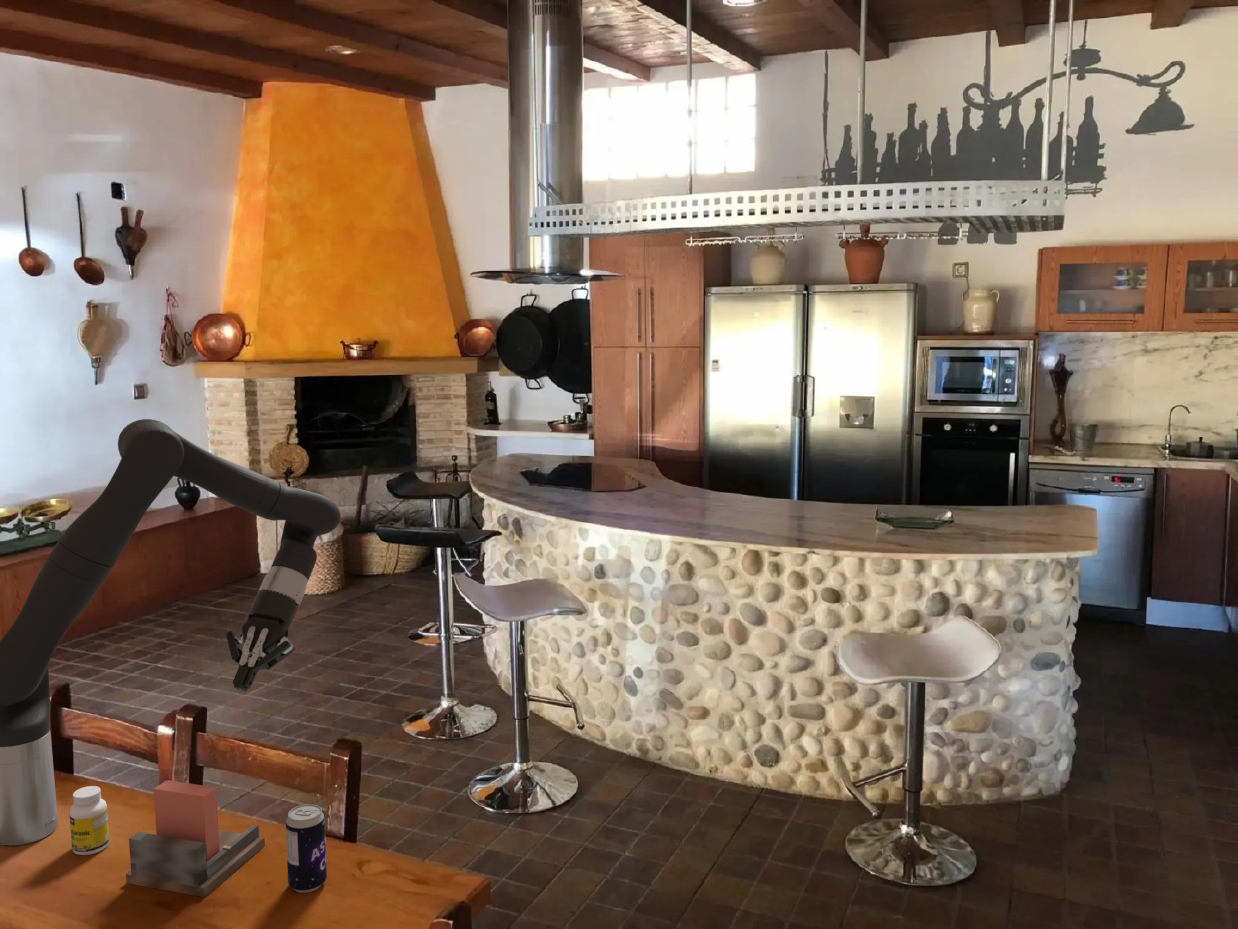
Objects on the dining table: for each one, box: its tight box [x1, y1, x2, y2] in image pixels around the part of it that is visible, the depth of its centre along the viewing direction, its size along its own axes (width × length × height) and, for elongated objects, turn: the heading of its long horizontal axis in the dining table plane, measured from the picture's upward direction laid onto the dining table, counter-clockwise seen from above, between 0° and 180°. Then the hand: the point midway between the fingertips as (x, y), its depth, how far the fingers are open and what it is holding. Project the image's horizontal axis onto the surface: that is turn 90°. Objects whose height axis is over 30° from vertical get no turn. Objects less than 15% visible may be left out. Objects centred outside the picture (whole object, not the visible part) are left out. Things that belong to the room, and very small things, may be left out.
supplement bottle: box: [68, 785, 110, 856], centre depth 159 cm, size 5×5×10 cm
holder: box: [125, 824, 266, 898], centre depth 154 cm, size 14×15×8 cm
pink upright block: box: [152, 779, 220, 862], centre depth 152 cm, size 9×3×12 cm, turn 76°
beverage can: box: [285, 803, 328, 894], centre depth 149 cm, size 6×6×12 cm
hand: (239, 689), depth 165 cm, fingers closed
